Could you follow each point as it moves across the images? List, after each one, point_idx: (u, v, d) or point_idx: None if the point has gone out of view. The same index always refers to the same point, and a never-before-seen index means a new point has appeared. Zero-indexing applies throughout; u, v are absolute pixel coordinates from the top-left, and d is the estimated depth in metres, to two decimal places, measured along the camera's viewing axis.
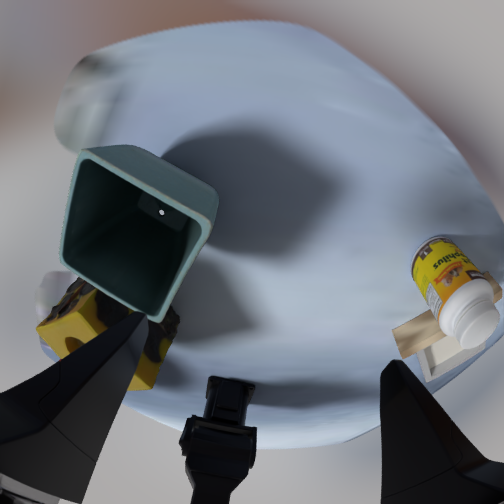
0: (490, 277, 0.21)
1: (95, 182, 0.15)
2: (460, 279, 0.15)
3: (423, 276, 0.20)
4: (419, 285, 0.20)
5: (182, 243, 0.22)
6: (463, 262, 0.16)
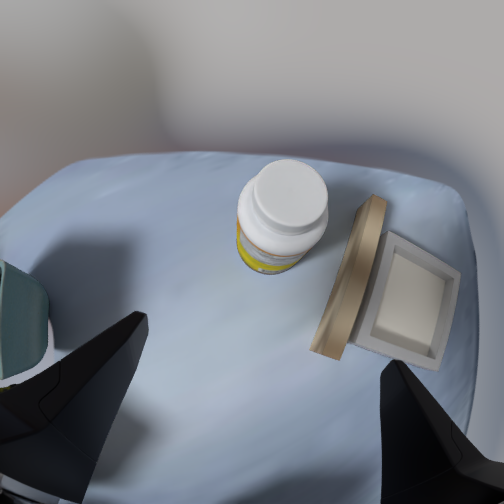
0: (361, 206, 0.24)
1: None
2: None
3: (240, 248, 0.20)
4: (251, 262, 0.20)
5: None
6: None
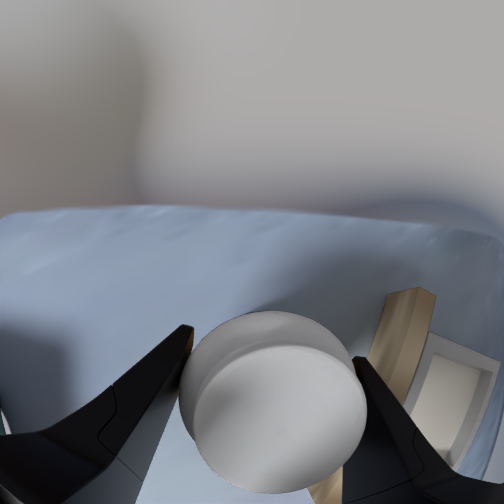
0: (395, 295, 0.15)
1: None
2: None
3: None
4: None
5: None
6: None
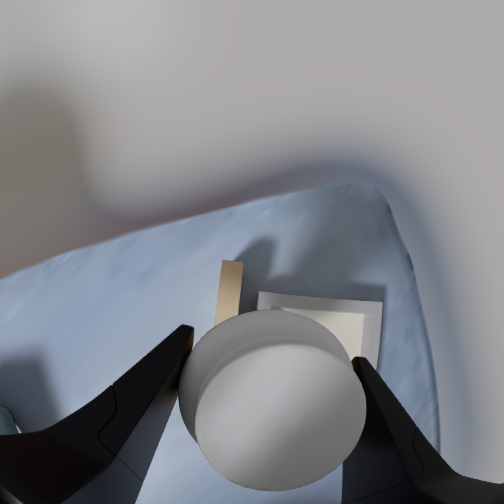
0: None
1: None
2: None
3: None
4: None
5: None
6: None
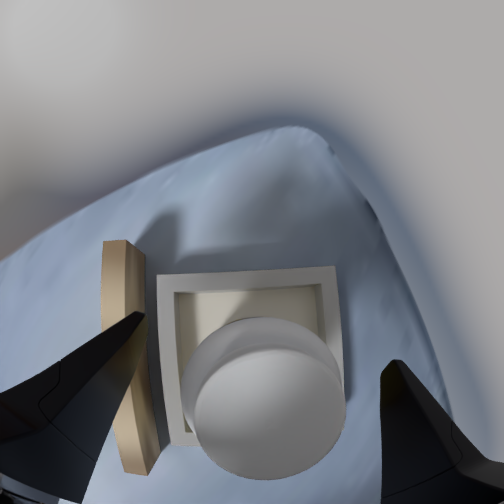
0: None
1: None
2: None
3: None
4: None
5: None
6: None
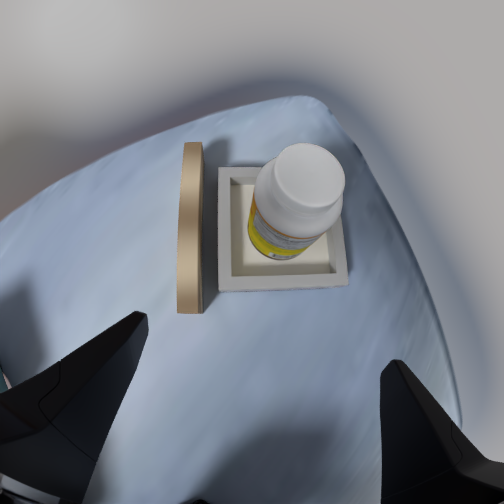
0: None
1: None
2: None
3: (253, 232, 0.20)
4: (263, 246, 0.20)
5: None
6: None
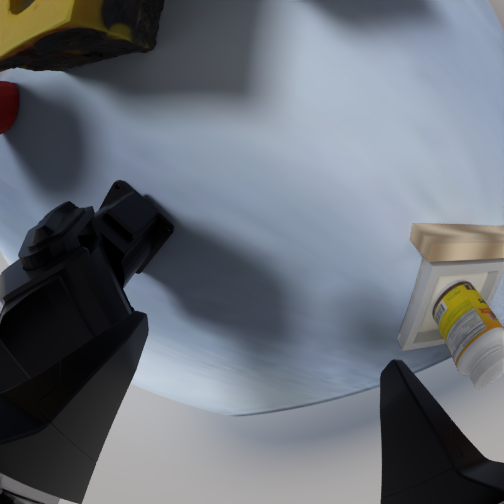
0: None
1: None
2: None
3: (465, 300, 0.18)
4: (453, 305, 0.19)
5: None
6: None
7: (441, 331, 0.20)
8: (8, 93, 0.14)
